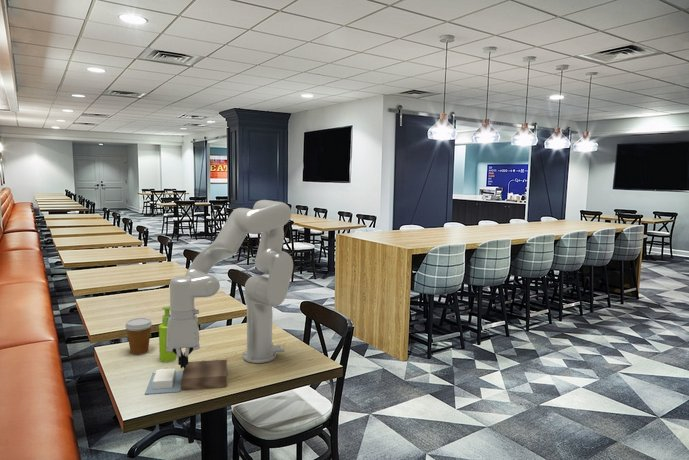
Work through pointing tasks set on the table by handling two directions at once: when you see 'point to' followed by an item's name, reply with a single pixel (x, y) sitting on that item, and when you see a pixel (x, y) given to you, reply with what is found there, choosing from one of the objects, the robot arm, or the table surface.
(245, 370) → the table surface
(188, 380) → the brown wooden block
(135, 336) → the disposable coffee cup
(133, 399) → the table surface
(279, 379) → the table surface
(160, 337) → the soap dispenser
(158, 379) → the tile
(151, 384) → the mat
